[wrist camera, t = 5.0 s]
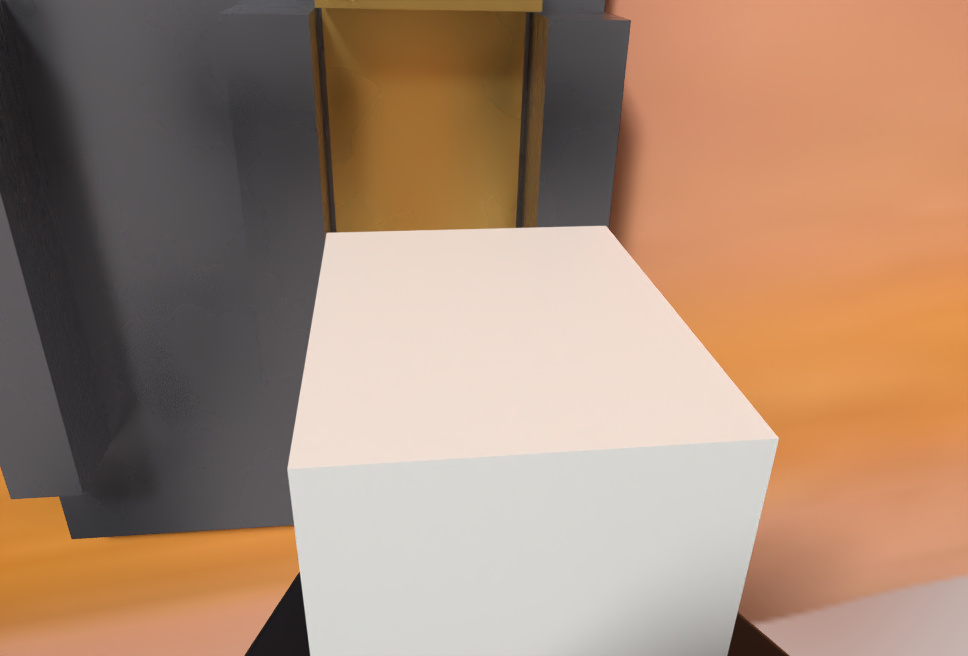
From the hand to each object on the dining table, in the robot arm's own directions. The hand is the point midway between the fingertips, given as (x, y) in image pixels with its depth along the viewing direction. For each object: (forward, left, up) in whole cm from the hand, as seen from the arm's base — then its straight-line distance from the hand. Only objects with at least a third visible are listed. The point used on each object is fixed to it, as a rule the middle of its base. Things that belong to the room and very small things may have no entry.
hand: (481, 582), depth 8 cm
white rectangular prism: (0, 0, -2) cm, 2 cm away
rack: (0, +3, -11) cm, 12 cm away
